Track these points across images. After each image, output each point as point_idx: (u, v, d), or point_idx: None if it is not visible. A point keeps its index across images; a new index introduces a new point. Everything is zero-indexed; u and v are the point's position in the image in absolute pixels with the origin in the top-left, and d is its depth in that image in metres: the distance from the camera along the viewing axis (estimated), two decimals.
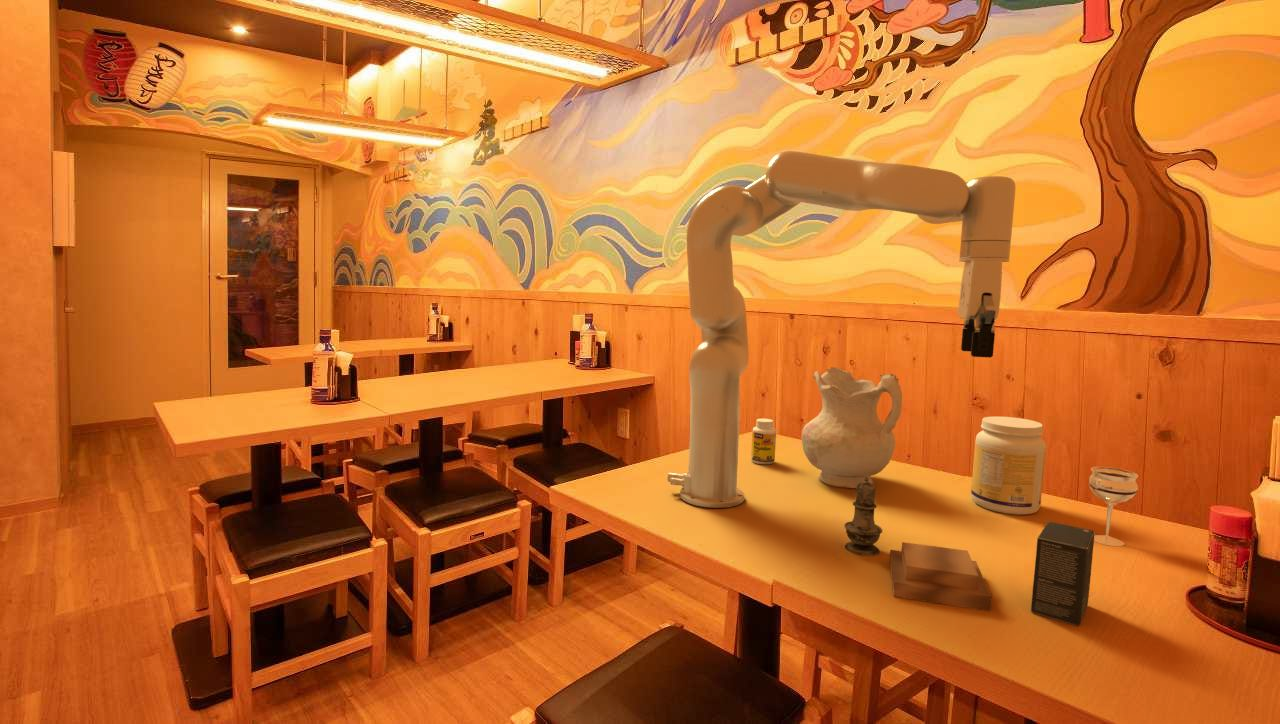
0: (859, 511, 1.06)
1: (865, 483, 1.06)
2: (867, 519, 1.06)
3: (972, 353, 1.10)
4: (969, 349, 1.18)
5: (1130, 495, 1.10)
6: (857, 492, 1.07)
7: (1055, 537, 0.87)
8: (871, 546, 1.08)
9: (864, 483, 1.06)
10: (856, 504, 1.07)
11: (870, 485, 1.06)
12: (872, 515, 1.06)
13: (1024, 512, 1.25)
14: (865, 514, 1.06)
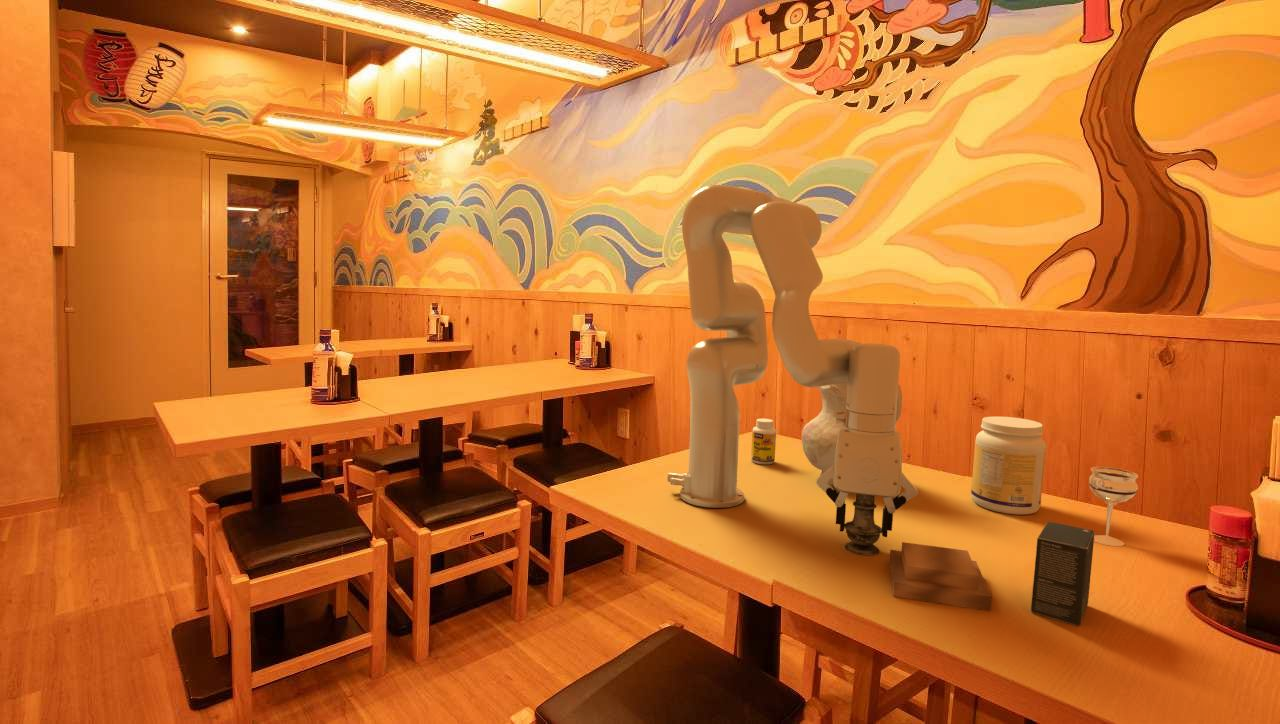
0: (859, 511, 1.06)
1: None
2: (867, 519, 1.06)
3: None
4: None
5: (1130, 495, 1.10)
6: None
7: (1055, 537, 0.87)
8: (871, 546, 1.08)
9: None
10: (856, 504, 1.07)
11: None
12: (872, 515, 1.06)
13: (1024, 512, 1.25)
14: (865, 514, 1.06)
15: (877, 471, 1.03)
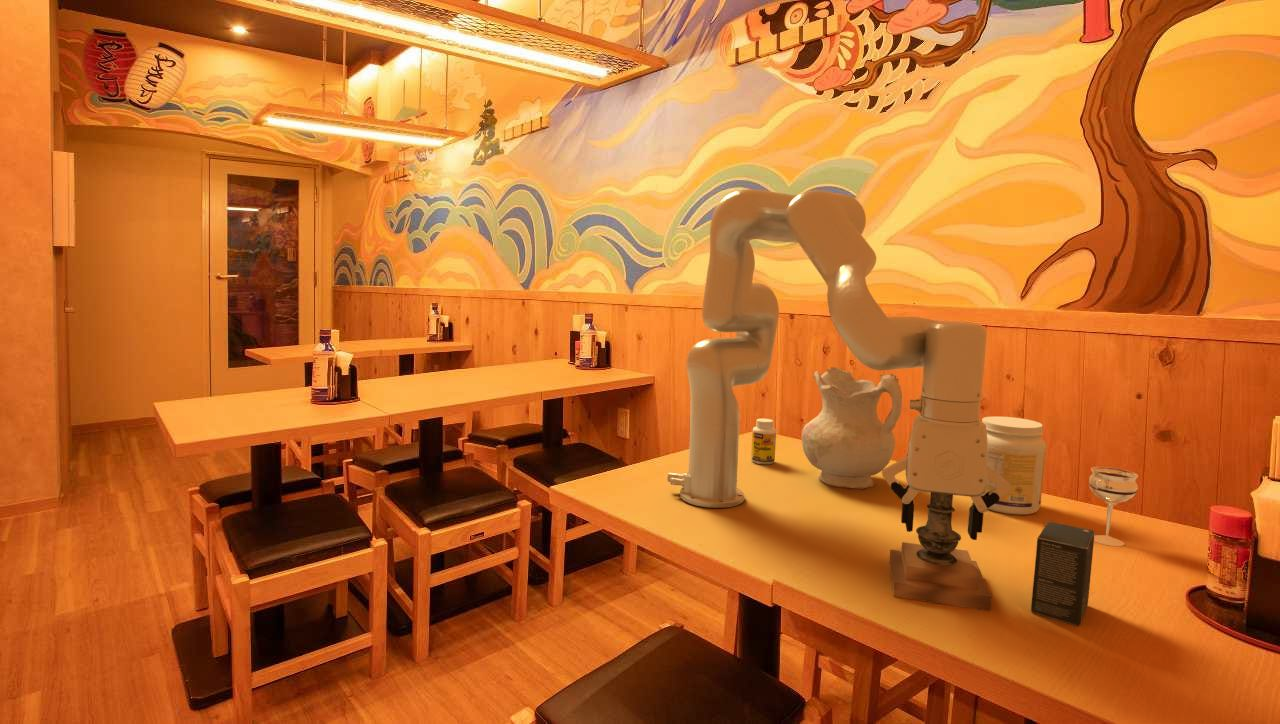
0: (934, 515, 0.93)
1: None
2: (944, 523, 0.93)
3: (976, 536, 0.92)
4: None
5: (1130, 495, 1.10)
6: (932, 493, 0.94)
7: (1055, 537, 0.87)
8: (947, 554, 0.95)
9: None
10: (931, 507, 0.94)
11: None
12: (950, 519, 0.93)
13: (1024, 512, 1.25)
14: (942, 518, 0.93)
15: (960, 467, 0.90)
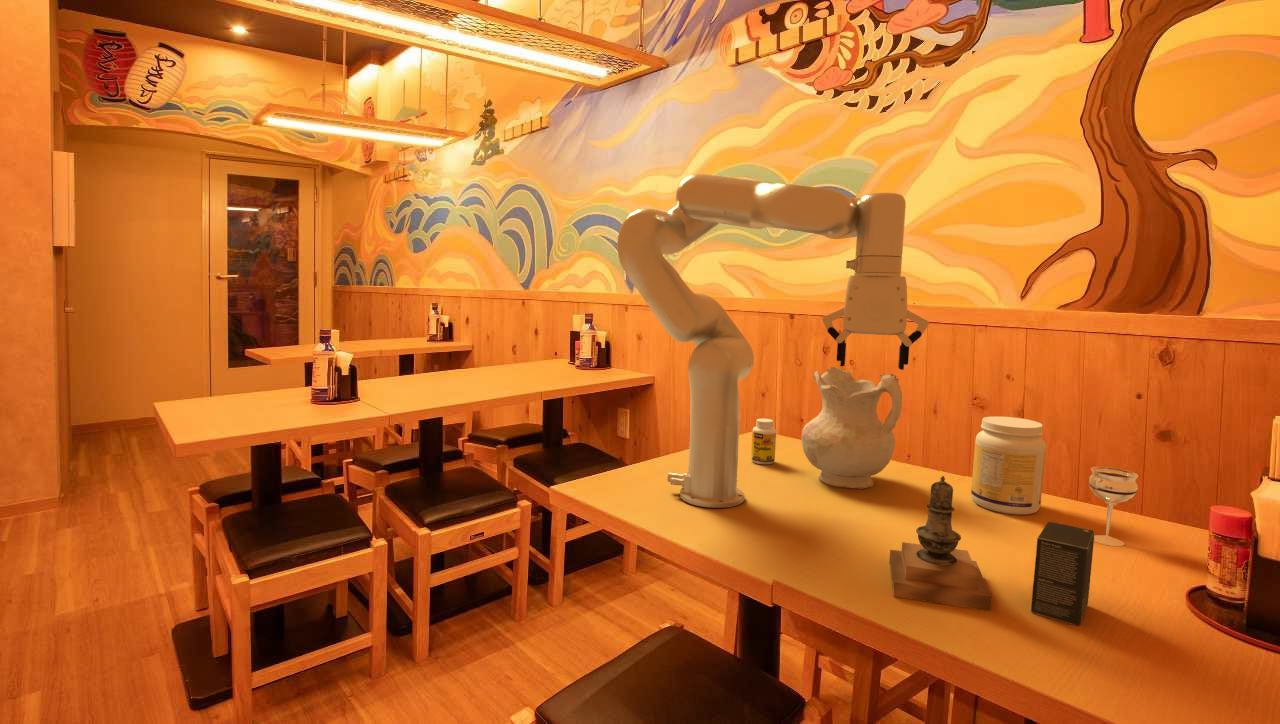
0: (934, 515, 0.94)
1: (942, 483, 0.93)
2: (944, 523, 0.93)
3: (903, 366, 1.13)
4: None
5: (1130, 495, 1.10)
6: (932, 493, 0.94)
7: (1055, 537, 0.87)
8: (947, 554, 0.95)
9: (940, 482, 0.94)
10: (931, 507, 0.94)
11: (947, 485, 0.93)
12: (950, 519, 0.93)
13: (1024, 512, 1.25)
14: (942, 518, 0.93)
15: (884, 310, 1.12)
